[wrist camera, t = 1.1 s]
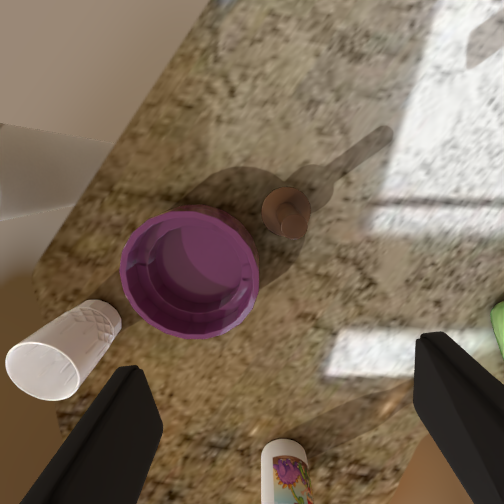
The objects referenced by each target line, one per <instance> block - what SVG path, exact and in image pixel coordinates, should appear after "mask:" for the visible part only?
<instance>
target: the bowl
mask: <svg viewBox="0 0 504 504" xmlns="http://www.w3.org/2000/svg"><path fill="white" fill-rule="evenodd" d="M119 271H120V276H121V281H122V287H123V290H124V293H125V295H126V296H127V298H128V300H129V302H130V304H131V305H132V307H133V308H134V310H135V311H136V312H137V313H138V314H139V315H140V316H141V317H142V318H143V319H144V320H145V321H146V322H147V323H148V324H150V325H152V326H154V327H155V328H157V329H159V330H161V331H162V332H164V333H166V334H169V335H173V336H176V337H180V338H184V339H207V338H211V337H215V336H218V335H222V334H225V333H226V332H228V331H230V330H231V329H233V328H234V327H236V326H237V325H239V324H240V323H241V322H242V321H243V320H244V319H245V317H246V316H247V315H248V314H249V313H250V311H251V310H252V309H253V306H254V303H255V301H256V298H257V295H258V292H259V254H258V251H257V248H256V245H255V243H254V240H253V237H252V236H251V235H250V234H249V232H248V231H247V230H246V228H245V227H244V226H243V224H242V223H241V222H240V221H238V220H237V219H235V218H234V217H233V216H231V215H230V214H228V213H227V212H225V211H224V210H220V209H217V208H214V207H211V206H208V205H204V204H203V205H182V206H179V207H176V208H173V209H170V210H168V211H165V212H163V213H161V214H159V215H156V216H154V217H152V218H150V219H148V220H147V221H146V222H145V223H143V224H142V225H141V226H140V227H139V228H137V229H136V230H135V231H134V232H133V233H132V234H131V236H130V238H129V240H128V241H127V243H126V245H125V247H124V249H123V251H122V256H121V263H120V270H119Z"/></svg>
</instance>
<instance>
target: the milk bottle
mask: <svg viewBox="0 0 504 504" xmlns="http://www.w3.org/2000/svg"><path fill="white" fill-rule="evenodd" d="M261 504H314V500H313V494H312V487H311V481H310V475H309V469H308V463H307V457H306V453H305V450H304V449H303V447H302V446H301V445H300V444H299V443H297V442H295V441H293V440H289V439H277V440H274V441H271V442H270V443H268V444H267V445H266V446H265V447H264V449H263V451H262V455H261Z"/></svg>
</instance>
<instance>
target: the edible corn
mask: <svg viewBox="0 0 504 504" xmlns="http://www.w3.org/2000/svg"><path fill="white" fill-rule="evenodd" d="M490 316H491V323H492V326H493V330H494V333H495V336H496V339H497V342H498V345H499V348H500V351H501V354H502V357H503V360H504V301H502V302H500V303H498V304H497V305H496V306H495V307H494V308H493V309H492V311H491V313H490Z"/></svg>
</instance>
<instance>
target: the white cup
mask: <svg viewBox="0 0 504 504" xmlns="http://www.w3.org/2000/svg"><path fill="white" fill-rule="evenodd" d="M120 330H121V317H120V315H119V314H118V312H117V310H116V309H115V308H113V307H112V306H111V305H110V304H109V303H106V302H103V301H101V300H86V301H85V302H83V303H81V304H79V305H78V306H76V307H75V308H73V309H72V310H70V311H67V312H66V313H64V314H63V315H61V316H59V317H58V318H56V319H55V320H53V321H52V322H50V323H48V324H47V325H45V326H44V327H42V328H41V329H39V330H38V331H36V332H35V333H34V334H32V335H31V336H29V337H28V338H26V339H25V340H23V341H22V342H20V343H19V344H17V345H16V346H14V347H13V348H12V349H11V350H10V351H9V352H8V354H7V356H6V361H5V364H6V370H7V373H8V375H9V376H10V378H11V379H12V381H13V382H14V383H15V384H16V385H17V386H18V387H19V388H20V389H21V390H23V391H24V392H26V393H27V394H29V395H31V396H34V397H36V398H39V399H43V400H50V401H57V400H63V399H66V398H68V397H70V396H72V395H73V394H74V393H75V392H76V391H77V389H78V388H79V387H80V385H81V384H82V383H83V381H84V380H85V379H86V378H87V376H88V375H89V374H90V372H91V371H92V370H93V368H94V367H95V366H96V364H97V363H98V362H99V360H100V359H101V357H102V356H103V355H104V353H105V352H106V350H107V349H108V348H109V346H110V345H111V342H112V341H113V340H114V339H115V337H116V336H117V334H118V333H119V331H120Z"/></svg>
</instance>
